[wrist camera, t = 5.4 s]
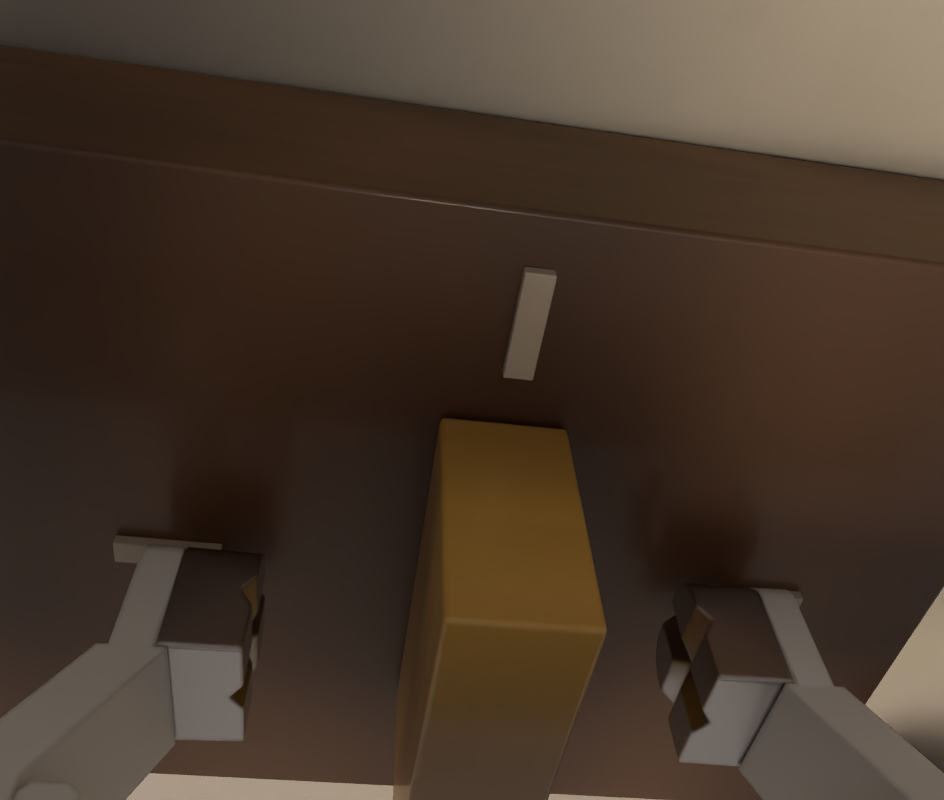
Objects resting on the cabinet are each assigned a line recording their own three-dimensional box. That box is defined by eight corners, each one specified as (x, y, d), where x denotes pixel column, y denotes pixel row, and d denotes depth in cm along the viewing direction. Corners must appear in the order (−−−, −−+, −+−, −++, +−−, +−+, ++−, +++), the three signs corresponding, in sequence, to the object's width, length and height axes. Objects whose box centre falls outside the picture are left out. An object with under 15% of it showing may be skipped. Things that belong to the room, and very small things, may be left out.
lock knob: (440, 414, 11) (443, 642, 8) (568, 427, 11) (614, 653, 8) (396, 692, 14) (388, 924, 11) (497, 698, 14) (513, 927, 11)
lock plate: (67, 625, 17) (4, 775, 15) (-27, 39, 11) (-165, 125, 8) (750, 673, 19) (800, 816, 16) (1008, 189, 13) (1154, 298, 10)
